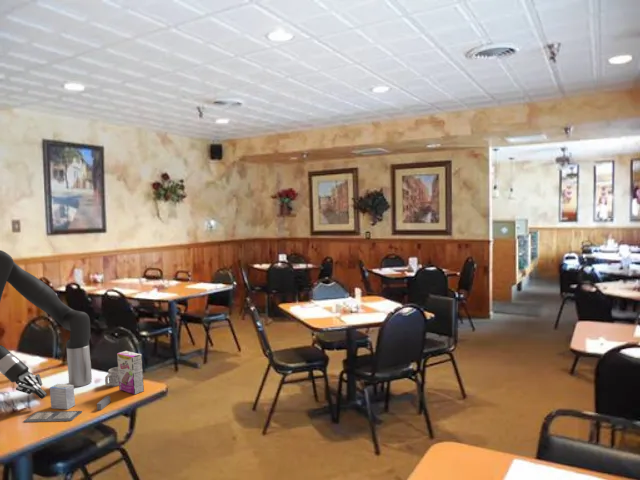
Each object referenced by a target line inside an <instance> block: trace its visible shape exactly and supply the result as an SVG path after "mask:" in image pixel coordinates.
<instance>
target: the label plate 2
mask: <svg viewBox="0 0 640 480" xmlns="http://www.w3.org/2000/svg"><path fill="white" fill-rule="evenodd" d="M82 413H83V410H61V411H60V410H59V412H58V413H56V414H55V415H54V416H52V417H51V418H50V419H48V420H47V421H48V422H72V421H73V420H74V419H75V418H77V417H78V416H79V415H80V414H82Z"/></svg>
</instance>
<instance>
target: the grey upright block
mask: <svg viewBox="0 0 640 480" xmlns="http://www.w3.org/2000/svg"><path fill="white" fill-rule="evenodd" d="M74 388H75V387H74V385H69V383H68V384H66V383H65V384H64V383H57V384H55V385H52V386H50V387H49V396H50V397H49V398H50V407H51V409H55V410H57V409H58V410H69V409H72V408H73V407H74V406H76V399H75V389H74Z"/></svg>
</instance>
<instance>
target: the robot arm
mask: <svg viewBox="0 0 640 480" xmlns="http://www.w3.org/2000/svg"><path fill="white" fill-rule="evenodd" d="M7 283H8V284H9V285H10V286H12V287H13V289H15V290H16V292H18V293H19V294H20V295H21V296H22V297H23V298H24V299H26V300H27V301H28V302H30V303H31V304H33V305H34V306H36V307H37V308H38V309H40V310H41V311H43V312H44V313H46V314H48V315H49V316H50V317H52V318H53V319H54V320H55V321H56V323H58V324H59V325H60V326H61V327H62V328H63V329H65V330H67V331H69V339H68V340H66V343H65V346H66V347H65V348H66V358H67V360H66V362H67V374H68V385H74V388H76V387H78V388H79V387H83V386H87V385H90V384H91V383H92V380H93V379H92V378H93V377H92V376H93V375H92V362H91V353H90V352H91V351H90V340H91V319H90V316H89V314H88V313H87V312H85V311H80V310H77V309H76V310H75V309H74V308H71V307H70V306H68V305H67V304H65V303H64V302H63V301H62V300H61V299H60V298H59V296H58V295H57V293H56V292H55V291H54V290H53V289H52V288H51V287H50V286H49V285H48V284H46V283H45V282H44V281H42V280H41V279H40V278H38V277H36V276H35V275H33V274H32V273H30V272H28V271H26V270H25V269H23V268H22V267H20V266H19V265H18V264H17V263H16V262H15V261H14V259H13V257H12V256H11V255H10V254H9V253H7V252H5V251H3V250H0V302H1V300H2V296H3V294H4V293H3V292H4V290H5V287H6V284H7ZM29 369H30V368H29V367H28V365H26V364H25V363H24V362H23V361H22V360H21V359H20V358H18V357H17V356H16V355H15V354H13V353H12V352H11V351H9V349H8V348H7V347H5V346H4V345H2V344H1V345H0V373H1V374H2V375H4V377H6V379H8V380H9V381H10V382H11V383H15V384H16V385H17V386H16V387H15V390H16V391H18V392H22V393H24V394H28V395H31V394H35V395H36V396H37V397H38V398H39V399H41V400H42V399H44V398H45V397H46V396H47V395H48V394H47V392H46V391H45V390H44V389H42V386H43V382H42V378H41V375H40V374H38V373H37V374H36V375H35V374H33V373H32V372H30V371H29Z"/></svg>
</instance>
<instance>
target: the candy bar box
mask: <svg viewBox="0 0 640 480" xmlns="http://www.w3.org/2000/svg"><path fill="white" fill-rule="evenodd" d="M142 357H143V356H142V354H141V353H137V352H133V351H129V350H124V351H120V352H118V353H116V359H117V362H116V363H117V367H118V376H119V386H118V390H119V391H122V392H125V393H130V394H132V395H138V394H140V393H143V392H144V391H145V385H144V374H143V373H144V372H143V358H142Z"/></svg>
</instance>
